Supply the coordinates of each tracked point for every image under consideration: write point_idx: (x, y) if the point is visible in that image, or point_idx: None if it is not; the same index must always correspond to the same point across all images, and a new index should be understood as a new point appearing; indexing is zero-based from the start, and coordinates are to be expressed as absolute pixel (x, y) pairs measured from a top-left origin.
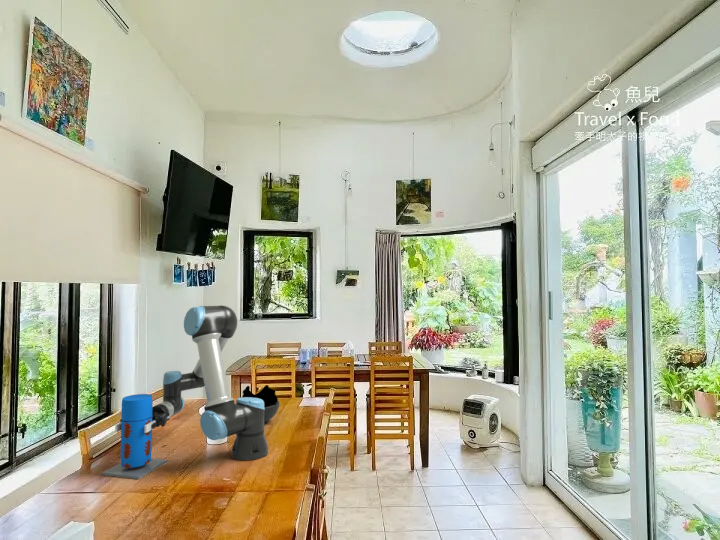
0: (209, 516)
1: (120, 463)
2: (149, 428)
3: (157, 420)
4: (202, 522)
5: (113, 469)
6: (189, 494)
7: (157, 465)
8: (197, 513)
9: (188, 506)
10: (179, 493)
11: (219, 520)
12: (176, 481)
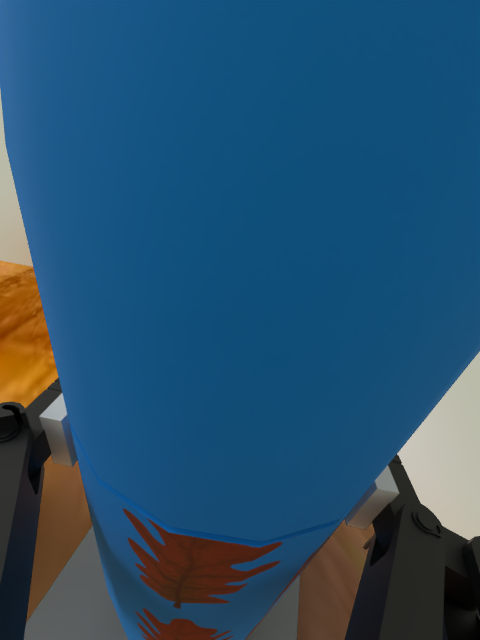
0: (17, 285)
1: (296, 622)
2: None
3: (15, 414)
4: (35, 280)
5: None
6: (21, 338)
7: (79, 549)
8: (33, 293)
9: (41, 309)
10: (43, 346)
11: (7, 277)
12: (29, 403)
